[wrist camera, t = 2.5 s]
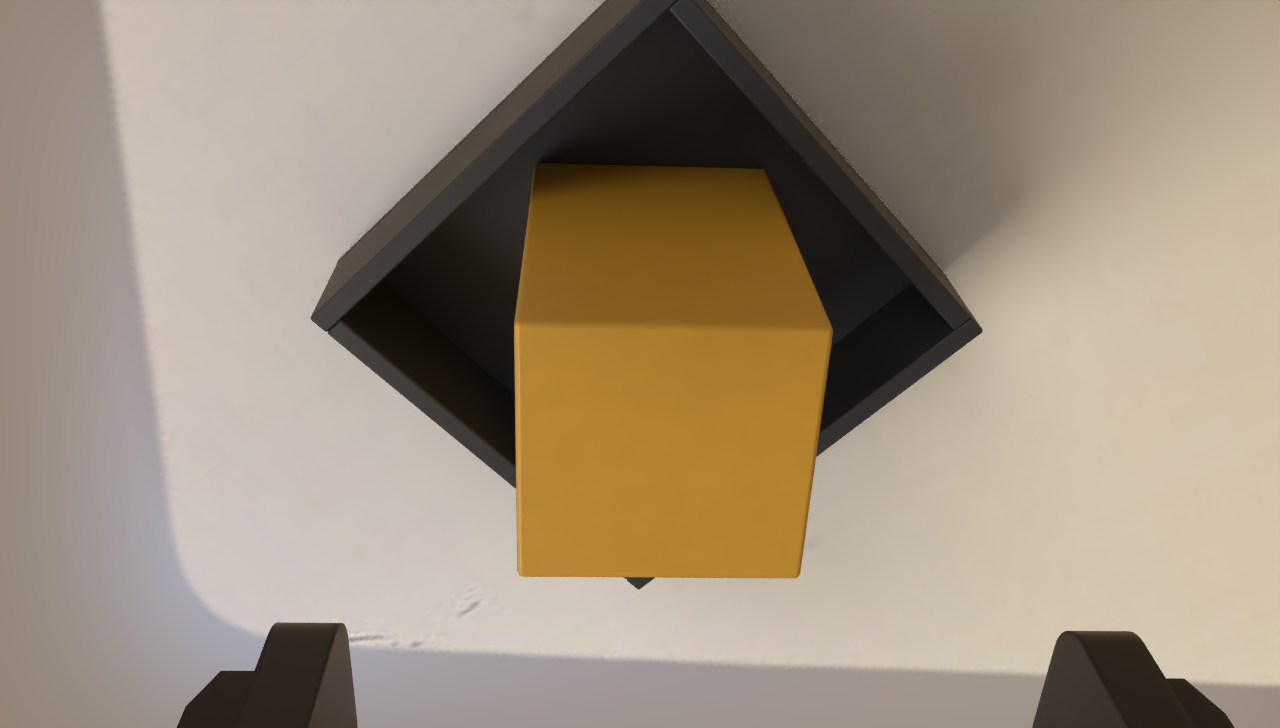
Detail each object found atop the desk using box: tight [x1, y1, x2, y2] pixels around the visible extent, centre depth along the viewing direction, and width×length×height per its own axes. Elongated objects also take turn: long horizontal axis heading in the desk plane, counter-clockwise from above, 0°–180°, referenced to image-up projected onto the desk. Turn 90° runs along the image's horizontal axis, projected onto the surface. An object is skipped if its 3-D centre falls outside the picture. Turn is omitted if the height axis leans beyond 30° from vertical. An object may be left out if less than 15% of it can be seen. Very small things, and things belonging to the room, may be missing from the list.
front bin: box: [311, 0, 982, 589], centre depth 22 cm, size 9×9×3 cm
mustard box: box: [514, 163, 833, 578], centre depth 20 cm, size 4×4×7 cm
